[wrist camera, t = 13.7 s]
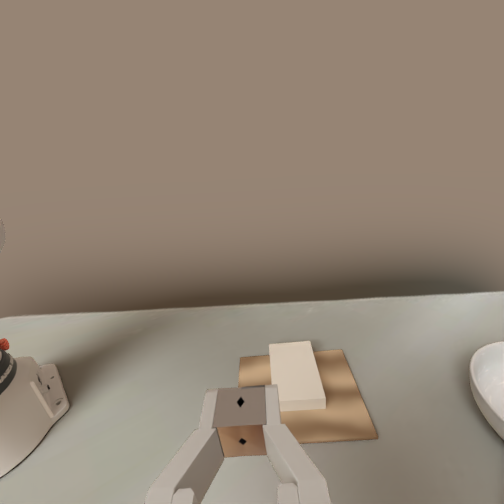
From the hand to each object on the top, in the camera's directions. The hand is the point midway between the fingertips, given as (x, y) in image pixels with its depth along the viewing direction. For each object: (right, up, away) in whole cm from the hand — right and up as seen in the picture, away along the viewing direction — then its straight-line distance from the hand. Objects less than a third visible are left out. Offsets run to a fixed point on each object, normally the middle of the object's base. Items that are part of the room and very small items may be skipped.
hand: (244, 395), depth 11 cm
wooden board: (+8, -18, +32) cm, 38 cm away
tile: (+8, -18, +29) cm, 34 cm away
